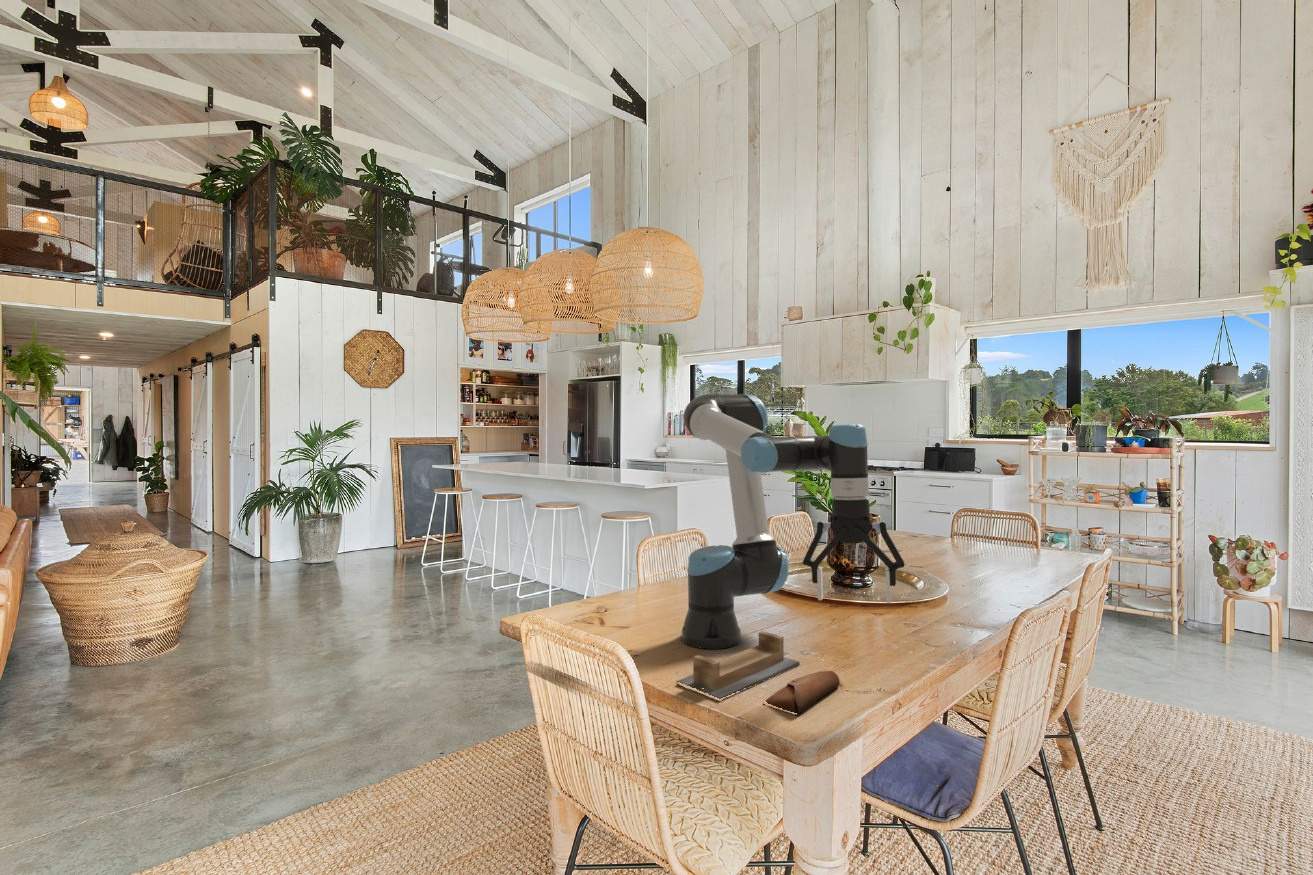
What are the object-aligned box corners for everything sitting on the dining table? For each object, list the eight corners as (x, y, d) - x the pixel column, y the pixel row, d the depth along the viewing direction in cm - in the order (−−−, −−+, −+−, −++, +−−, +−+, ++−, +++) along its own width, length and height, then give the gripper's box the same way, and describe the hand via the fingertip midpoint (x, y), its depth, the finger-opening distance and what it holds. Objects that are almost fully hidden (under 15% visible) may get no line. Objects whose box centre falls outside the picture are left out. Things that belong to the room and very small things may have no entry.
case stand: (676, 684, 140) (676, 655, 140) (757, 652, 160) (757, 626, 160) (719, 701, 132) (719, 670, 132) (799, 665, 151) (799, 637, 151)
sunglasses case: (803, 677, 144) (817, 654, 142) (829, 700, 140) (844, 678, 138) (760, 704, 130) (775, 680, 128) (787, 731, 126) (803, 707, 124)
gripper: (787, 499, 139) (791, 601, 138) (914, 499, 130) (919, 607, 130) (792, 497, 146) (795, 594, 145) (913, 496, 137) (917, 598, 137)
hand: (854, 600), depth 137 cm, fingers open, 13 cm apart
